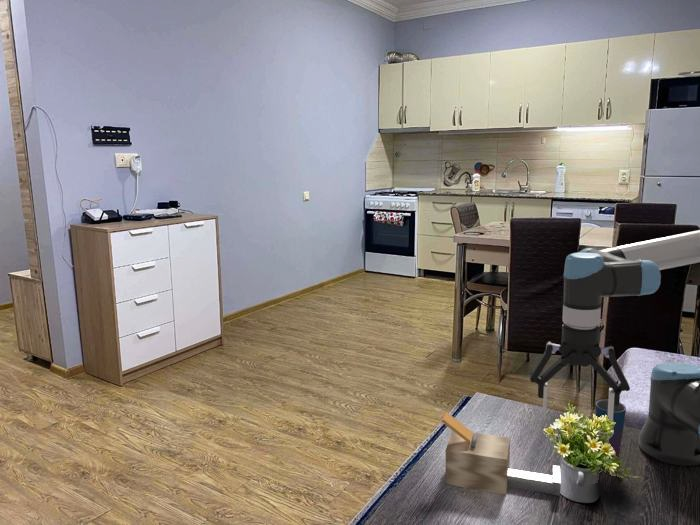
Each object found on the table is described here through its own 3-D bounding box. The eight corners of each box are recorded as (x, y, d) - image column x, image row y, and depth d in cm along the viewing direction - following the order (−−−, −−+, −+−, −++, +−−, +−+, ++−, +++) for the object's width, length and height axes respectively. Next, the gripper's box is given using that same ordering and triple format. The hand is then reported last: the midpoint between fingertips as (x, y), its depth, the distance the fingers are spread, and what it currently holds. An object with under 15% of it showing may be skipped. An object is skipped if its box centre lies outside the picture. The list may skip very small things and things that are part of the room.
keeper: (475, 438, 130) (478, 435, 129) (473, 448, 125) (476, 445, 125) (444, 413, 131) (446, 410, 131) (440, 422, 127) (443, 419, 127)
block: (509, 470, 131) (510, 437, 129) (506, 495, 122) (506, 459, 120) (452, 461, 136) (452, 429, 134) (445, 484, 127) (445, 449, 125)
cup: (598, 450, 139) (601, 397, 136) (626, 459, 134) (630, 405, 131) (588, 460, 134) (591, 406, 131) (616, 471, 129) (620, 414, 126)
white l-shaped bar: (559, 483, 126) (559, 466, 125) (559, 501, 119) (560, 483, 118) (483, 470, 132) (483, 454, 131) (480, 487, 125) (480, 470, 124)
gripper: (642, 322, 114) (635, 413, 118) (521, 315, 122) (519, 400, 126) (649, 333, 107) (642, 429, 111) (520, 325, 115) (518, 415, 119)
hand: (576, 414), depth 119 cm, fingers open, 13 cm apart
